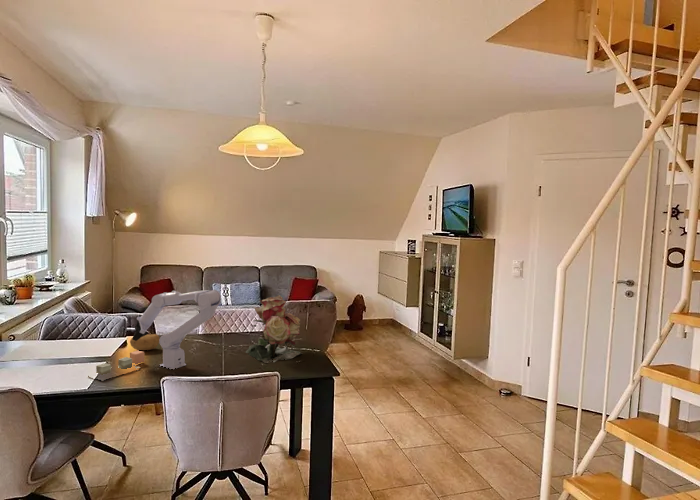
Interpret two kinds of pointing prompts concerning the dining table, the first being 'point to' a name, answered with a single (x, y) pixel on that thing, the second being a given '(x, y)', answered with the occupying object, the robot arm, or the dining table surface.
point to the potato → (145, 342)
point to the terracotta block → (137, 356)
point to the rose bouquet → (275, 331)
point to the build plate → (122, 364)
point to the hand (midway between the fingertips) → (135, 334)
